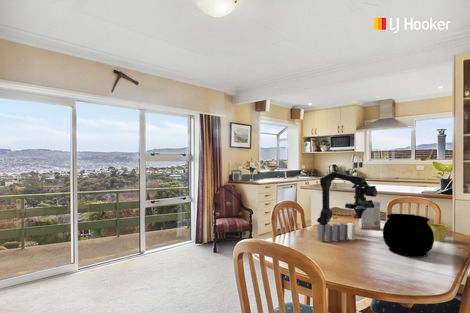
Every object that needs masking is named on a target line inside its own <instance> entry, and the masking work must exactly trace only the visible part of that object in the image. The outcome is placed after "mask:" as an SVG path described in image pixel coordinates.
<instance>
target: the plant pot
mask: <svg viewBox="0 0 470 313" xmlns="http://www.w3.org/2000/svg"><path fill="white" fill-rule="evenodd" d="M428 224H429V226H430V227H431V229H432V231H433V234H434V242H438V243H442V242H443V243H444V242H445V240H446V236H447V233H448V232H449V227H448V226H447V225H445V224H442V223H441V224H438V223H428Z"/></svg>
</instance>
